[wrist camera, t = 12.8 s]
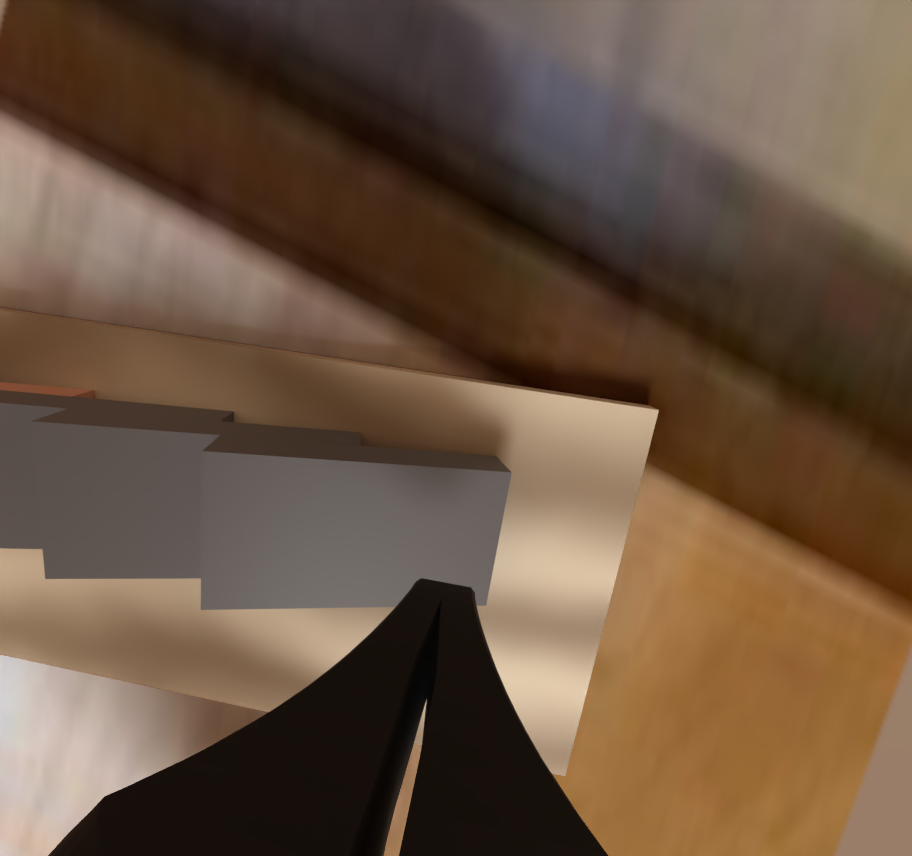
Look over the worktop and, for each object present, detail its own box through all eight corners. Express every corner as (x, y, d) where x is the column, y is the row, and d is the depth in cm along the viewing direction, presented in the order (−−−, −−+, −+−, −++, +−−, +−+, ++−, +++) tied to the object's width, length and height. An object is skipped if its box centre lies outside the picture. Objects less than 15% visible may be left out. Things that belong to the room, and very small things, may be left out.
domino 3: (511, 472, 14) (202, 451, 11) (486, 605, 15) (200, 609, 13) (496, 456, 15) (220, 434, 13) (474, 578, 16) (217, 577, 14)
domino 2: (360, 445, 14) (30, 421, 12) (347, 577, 15) (44, 579, 13) (360, 432, 15) (67, 408, 13) (348, 553, 17) (78, 550, 14)
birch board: (561, 753, 19) (565, 776, 18) (-41, 625, 21) (-68, 639, 20) (648, 405, 15) (659, 410, 14) (-94, 293, 17) (-130, 290, 16)
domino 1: (219, 421, 14) (-119, 392, 12) (217, 553, 15) (-92, 546, 13) (234, 411, 16) (-66, 384, 14) (231, 531, 17) (-46, 522, 15)
